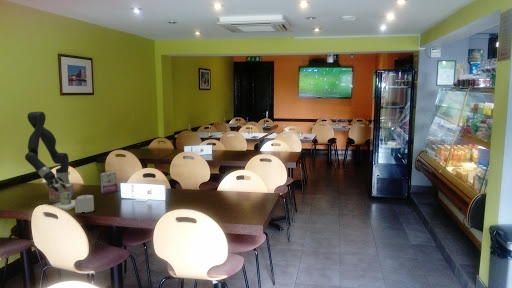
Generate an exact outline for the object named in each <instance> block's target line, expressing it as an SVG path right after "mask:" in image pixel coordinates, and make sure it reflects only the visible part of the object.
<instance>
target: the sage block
mask: <svg viewBox="0 0 512 288" xmlns="http://www.w3.org/2000/svg"><path fill="white" fill-rule="evenodd" d="M60 198H61V201H60V202H61V205H68V204H70V203H71V200H72V196H71V192H64V193H61V194H60Z"/></svg>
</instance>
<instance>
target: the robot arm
mask: <svg viewBox="0 0 512 288" xmlns="http://www.w3.org/2000/svg"><path fill="white" fill-rule="evenodd" d="M46 116H47V115H46V114H45V112H43V111H29V113H27V120H28V123H29V125H31V126H32V128H33V129H34V130H33V132H32V133H31V134H30V136H29V139H28V142H27V151H28V152H27V153H26V154H25V155H24V159H25V160H26V162H28V164H29V165H30V166H32V167H33V169H34V170H35V171H36V172H37V173H38V174H39V176H41V178H42V179H43V180H44V181H45V185H46V186H47V187H49V188H50V189H51V188H52V189H54V190H55V191H56V192H58V191H59V189H58V188H57V187H55V185H56V184H57V185H61V186H62V187H63V188H64V189H66V188H67V187H66V186H65V185H64V183H66V184H71V183H70V179H69V178H70V177H69V167H70V165H69V163H70V161H69V159H70V158H69V154H68V153H67V152H59V151H58V150H57V149H56V145H57V139H56V137H55V135H54V134H53V132H52V131H50V129H47V128H46V127H45V122H46ZM40 140H41V142H42V143H43V146H45V148H46V150H47V152H48V154H49V156H50V158H51V160H52V162H53V163H54V164H55V165H60V166H59V167H57V168H56V169H55V173H54V172H53V171H52V170H51V169H50V168H49V167H48V166H47V165H46V164H45V163H44V162H43V161H42V160H40V158H39V145H40ZM60 183H61V184H60ZM50 186H51V187H50Z"/></svg>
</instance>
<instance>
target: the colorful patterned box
mask: <svg viewBox="0 0 512 288" xmlns="http://www.w3.org/2000/svg"><path fill="white" fill-rule="evenodd" d="M60 184H61V183H60ZM64 185H65V186H66V187H67V188H66V189H64V188H63V187H62V186H61V185H57V184H56V185H55V187H57V188H58V189H59V191H58V192H56V191H55V190H54V189H52V188H51V189H50V188H49V187H48V186H47V187H48V200H49V201H48V202H49V203H59V202H61V198H60V194H61V193H64V192H71V197H73V196H74V193H75V192H74V184H73V183H70V184H66V183H64ZM50 187H51V185H50Z"/></svg>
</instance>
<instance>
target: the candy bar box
mask: <svg viewBox="0 0 512 288" xmlns="http://www.w3.org/2000/svg"><path fill="white" fill-rule="evenodd" d="M99 175H100V188H101V189H100V191H101V194H109V193H115V192H116V193H117V179H116V172H115V171H108V172H102V173H99Z"/></svg>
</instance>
